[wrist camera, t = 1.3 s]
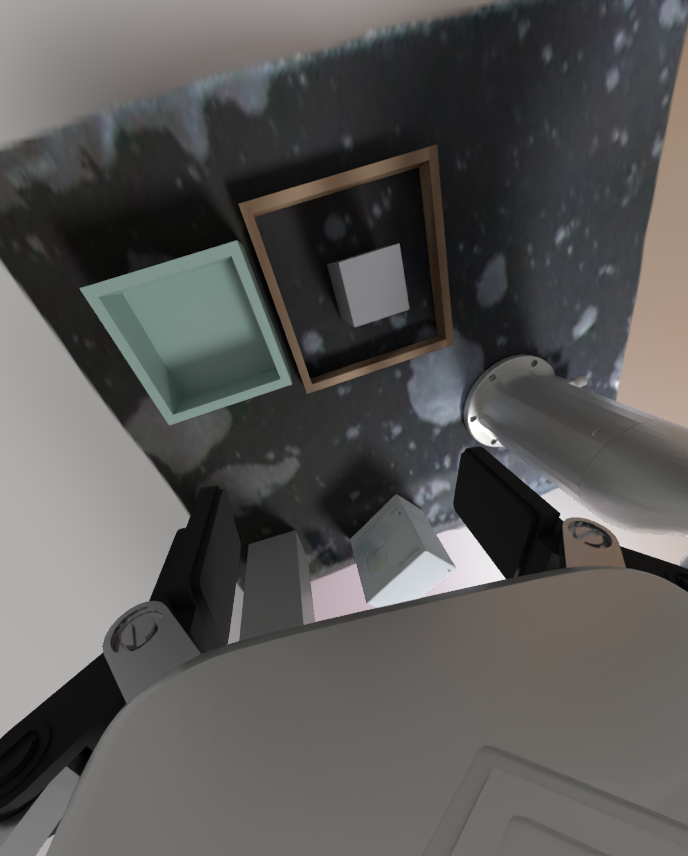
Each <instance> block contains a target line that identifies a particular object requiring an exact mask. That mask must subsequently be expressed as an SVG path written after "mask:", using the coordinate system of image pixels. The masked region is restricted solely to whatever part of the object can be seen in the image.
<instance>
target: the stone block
mask: <svg viewBox="0 0 688 856" xmlns="http://www.w3.org/2000/svg"><path fill="white" fill-rule="evenodd" d="M327 267H328V271H329V275H330V278H331V282H332V286H333V290H334V294H335V297H336V301H337V305H338V309H339V313H340V316H341V319H343V320H344V321H346V322H347V323H349V324H350V325H352V326H353V327H357V326H360V325H364V324H367V323H370V322H373V321H376V320H379V319H382V318H385V317H388V316H391V315H394V314H397V313H400V312H403V311H406V310H409V303H408V296H407V290H406V283H405V276H404V270H403V263H402V256H401V250H400V243H399V244H394V245H390V246H386V247H382V248H378V249H374V250H371V251H368V252H365V253H361V254H358V255H355V256H352V257H349V258H346V259H342V260H339V261H336V262H333V263H330V264H327Z"/></svg>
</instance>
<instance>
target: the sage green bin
mask: <svg viewBox="0 0 688 856" xmlns="http://www.w3.org/2000/svg"><path fill="white" fill-rule="evenodd" d="M80 290H81V291H82V293H83V295H84V296H85V298H86V299H87V301H88V302H89V304H90V305H91V307H92V308H93V310H94V311H95V313H96V314H97V316H98V317H99V319H100V320H101V322H102V324H103V325H104V327H105V328H106V330H107V331H108V333H109V334H110V336H111V337H112V339H113V340H114V342H115V343H116V345H117V346H118V348H119V350H120V351H121V353H122V354H123V356H124V357H125V359H126V360H127V362H128V363H129V365H130V366H131V368H132V369H133V371H134V372H135V374H136V376H137V377H138V379H139V380H140V382H141V383H142V385H143V386H144V388H145V389H146V391H147V392H148V394H149V395H150V397H151V398H152V400H153V401H154V403H155V405H156V406H157V408H158V409H159V411H160V412H161V414H162V415H163V417H164V418H165V420H166V421H167V423H168V424H169V425H172V424H175V423H178V422H181V421H184V420H187V419H190V418H193V417H196V416H199V415H202V414H205V413H208V412H211V411H214V410H217V409H220V408H223V407H226V406H229V405H232V404H235V403H238V402H241V401H244V400H247V399H250V398H253V397H256V396H258V395H261V394H264V393H267V392H270V391H273V390H276V389H279V388H282V387H285V386H288V385H291V384H292V380H291V374H290V368H289V366H288V363H287V360H286V358H285V355H284V352H283V350H282V347H281V344H280V342H279V339H278V336H277V334H276V331H275V328H274V326H273V323H272V321H271V318H270V315H269V313H268V310H267V307H266V305H265V302H264V299H263V297H262V294H261V291H260V289H259V286H258V283H257V281H256V278H255V275H254V273H253V270H252V267H251V265H250V262H249V259H248V257H247V254H246V252H245V249H244V246H243V245H242V244H241V243H240V242H238V241H237V240H236V241H233V242H230V243H227V244H223V245H220V246H217V247H214V248H210V249H207V250H204V251H200V252H197V253H194V254H191V255H187V256H184V257H181V258H178V259H174V260H171V261H168V262H164V263H161V264H158V265H155V266H151V267H148V268H145V269H142V270H138V271H135V272H132V273H129V274H125V275H122V276H119V277H115V278H112V279H109V280H106V281H102V282H99V283H96V284H93V285H89V286H86V287H83V288H80Z"/></svg>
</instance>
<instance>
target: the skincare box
mask: <svg viewBox="0 0 688 856" xmlns="http://www.w3.org/2000/svg"><path fill="white" fill-rule="evenodd" d="M350 541H351V545H352V549H353V553H354V557H355V560H356V564H357V568H358V572H359V576H360V580H361V583H362V587H363V591H364V595H365V599H366V603H367V604H368V605H370V606H373V607H376V608H379V607H384V606H388V605H392V604H397V603H401V602H406V601H410V600H415V599H419V598H421V597H423V596H424V595H425V594H426V593H427V592H428V591H430V590H431V589H432V588H433V587H434V586H436V585H437V584H438V583H439V582H440V581H442V580H443V579H444V578H445V577H446V576H447V575H449V574H450V573H451V572H452V571H453V570H455V569H456V567H455V565H454V563H453V562H452V560H451V559H450V557H449V556H448V554H447V552H446V550H445V549H444V547H443V545H442V543H441V542H440V540H439V538H438V537H437V535H436V533H435V532H434V530H433V528H432V527H431V525H430V523H429V522H428V520H427V518H426V516H425V515H424V513H423V511H422V510H421V509H419V508H418V507H416V506H415V505H413V504H412V503H410V502H408V501H407V500H405V499H404V498H402V497H401V496H399V495H397V494H396V495H394V496H393V497H392V498H391V499H390V500H389V501H388V502H387V503H386V504H385V505H384V506H383V507H382V508H381V509H380V510H379V511H378V512H377V513H376V514H375V515H374V516H373V517H372V518H371V519H370V520H369V521H368V522H367V523H366V524H365V525H364V526H363V527H362V528H361V529H360V530H359V531H358V532H357V533H356V534H355V535H354V536H353V537H352V538H351V539H350Z"/></svg>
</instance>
